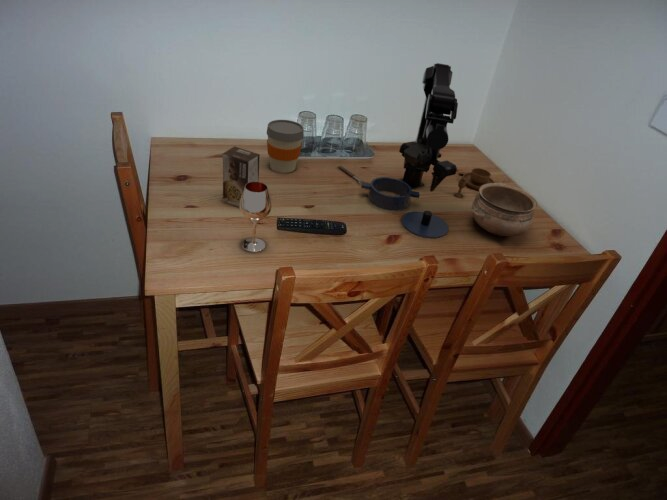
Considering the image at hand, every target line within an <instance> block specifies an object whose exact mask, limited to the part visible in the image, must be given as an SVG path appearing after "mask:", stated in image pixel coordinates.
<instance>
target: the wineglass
mask: <svg viewBox="0 0 667 500" xmlns="http://www.w3.org/2000/svg"><path fill="white" fill-rule="evenodd" d="M238 208H239V211H240V213H241V214H242V215H243V216H244V217H245V218H246V219H247V220H249V221H250V222H252V237H250V238H245V239H243V240H242V242H241V247H242V249H243V250H244V251H246V252H249V253H259V252H262V251H263V250H265V248H266V243H265V241H264V240H262V239H260V238H257V237H256V233H257V223H258V222H260V221H262V220H264V219H266V218H267V217H268V216H269V215H270V213H271V210H272V200H271V195H270V191H269V187H268V185H267V184H266V183H264V182H261V181H259V182H249V183H247V184H246V185H245V187H244V190H243V193H242V196H241V199H240V204H239V207H238Z"/></svg>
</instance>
